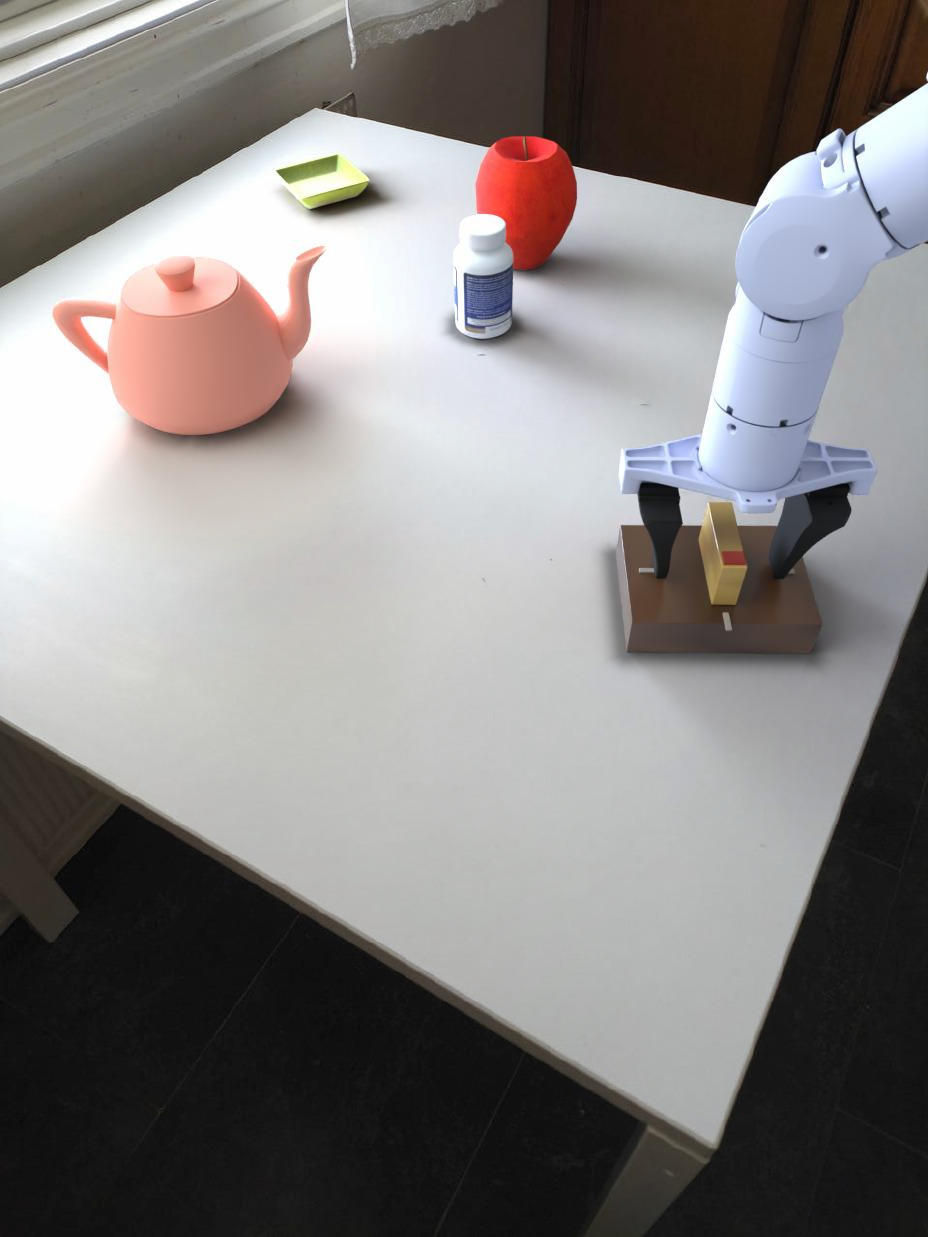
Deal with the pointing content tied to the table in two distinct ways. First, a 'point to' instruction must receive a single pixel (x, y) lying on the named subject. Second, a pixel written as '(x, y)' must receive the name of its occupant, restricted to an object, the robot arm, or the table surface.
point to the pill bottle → (483, 277)
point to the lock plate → (683, 607)
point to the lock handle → (722, 553)
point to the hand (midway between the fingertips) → (717, 568)
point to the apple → (528, 195)
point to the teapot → (195, 342)
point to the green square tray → (323, 180)
